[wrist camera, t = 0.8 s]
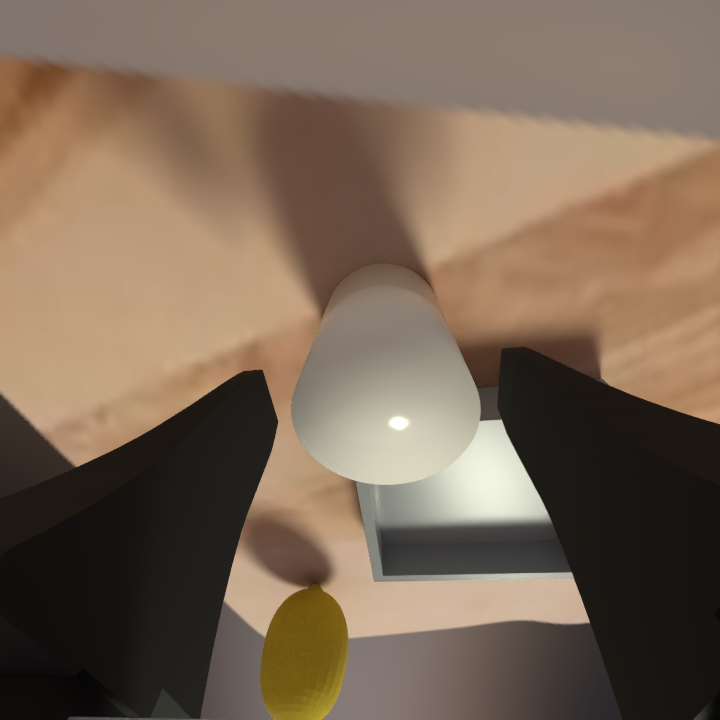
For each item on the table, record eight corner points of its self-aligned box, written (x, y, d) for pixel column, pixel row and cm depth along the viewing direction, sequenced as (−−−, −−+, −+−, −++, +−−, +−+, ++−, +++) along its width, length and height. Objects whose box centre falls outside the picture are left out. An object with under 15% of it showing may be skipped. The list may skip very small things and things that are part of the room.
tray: (601, 378, 16) (637, 411, 14) (561, 537, 22) (581, 578, 20) (350, 397, 17) (346, 429, 15) (374, 542, 23) (374, 581, 21)
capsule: (438, 256, 14) (485, 323, 8) (439, 363, 16) (476, 480, 10) (317, 270, 14) (270, 343, 8) (336, 372, 17) (310, 488, 10)
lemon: (273, 563, 25) (231, 717, 18) (348, 563, 24) (336, 721, 17) (286, 603, 27) (254, 751, 20) (355, 604, 27) (346, 756, 20)
